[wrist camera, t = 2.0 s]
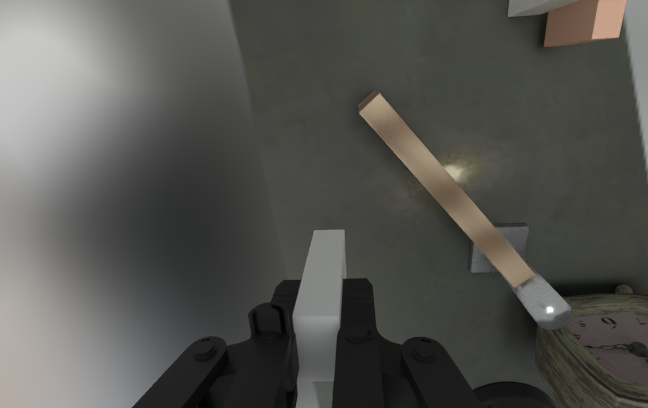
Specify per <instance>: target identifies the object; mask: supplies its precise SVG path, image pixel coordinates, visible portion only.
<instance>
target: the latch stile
mask: <svg viewBox="0 0 648 408" xmlns="http://www.w3.org/2000/svg"><path fill="white" fill-rule="evenodd" d="M625 5H626V0H509V8H508V17H517V16H530V15H540V14H543V13H546V12H549V13H548V20H547V27H546V34H545V41H544V47H551V46H565V45H572V44H578V43H585V42H592V41H598V40H605V39H611V38H618V37H619V34H620V29H621V24H622V19H623V15H624V10H625Z"/></svg>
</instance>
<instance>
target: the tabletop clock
mask: <svg viewBox="0 0 648 408" xmlns="http://www.w3.org/2000/svg"><path fill="white" fill-rule="evenodd" d="M615 292H616V293H613V294H585V295H575V296H566V297H562V298H563V299H564V300H565V302H566V303H567V304H568V305H569V306H570V307H571V309H572V312H573V315H572V318H571V320H570V321H569V323H568V324H566V325H565V326H563V327H561V328H559V329H555V330H548V329H544V328H542V327H540V326H539V325H537V336H536V346H535V362H536V365H537V368H538V371H539V374H540V376H541V377H542V379H543V381H544V383H545V385H546V387H547V389H548V391H549V393H550V395H551V396H552V398H553V400H554V401H555V402H556V404H557V405H558V407H559V408H648V295H646V294H635V293H633V291H632V289H631V288H630V287H629V286H627V285H619V286H617V287H616V289H615Z"/></svg>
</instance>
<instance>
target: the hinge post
mask: <svg viewBox="0 0 648 408" xmlns="http://www.w3.org/2000/svg"><path fill="white" fill-rule="evenodd" d="M492 225H493V226H494V227H495V228H496V230H497V231H498V232H499V233H500V234H501V235H502V237H503V238H504V239H505V240H506V241H507V242H508V244H509V245H510V246H511V247H512V248H513V249H514V251H515V252H516V253H517V254H518V255H519V256H520V258H521V259H522V260H523V261H524V262H525V263H526V265H527V266H528V267H529V268H530V269H531V270H532V272H533V273H534V274H535V275H534V276H532V277H531V278H529V279H527V280H526V281H524V282H523V283H521V284H519V285H518V286H516V287H515V288H514V287H513V286H512V285H511V284H510V283H509V281H508V280H507V279H506V278H505V277H504V276H503V275H502V274H501V272H500V271H499V270H498V269H497V268H496V267H495V266H494V264H493V263H492V262H491V261H490V260H489V259H488V258H487V257H486V255H485V254H484V253H483V252H482V251H481V250H480V249H479V248H478V246H477V245H476V244H475V243H474V242H473V241H472V240H471V246H470V257H469V267H468V269H469V270H470V272H471V273H484V272H499V273H500V274H501V276H502V277H503V278H504V280H505V281H506V282H507V284H508V285H509V286H510V288H511V289H512V290H513V292H514V293H515V294H516V296H517V297H518V298H519V300H520V301H521V302H522V304H523V305H524V306H525V308H526V309H527V310H528V312H529V313H530V314H531V316H532V317H533V318H534V320H535V321H536V323H537V324H538V325H539V326H540V327H542V328H544V329H548V330H555V329H559V328H561V327H563V326H565V325H566V324H568V323H569V321H570V320H571V318H572V315H573V312H572V309H571V307H570V306H569V305H568V304H567V303H566V302H565V300H564V299H563V298H562V297H561V296H560V295H559V294H558V293H557V292H556V291H555V290H554V289H553V288H552V287H551V286H550V285H549V284H548V282H547V281H546V280H545V279H544V278H543V277H542V276H541V275H540V274H539V273H538V272H537V271H536V270H535V269H534V268H533V267H532V266H531V264H530V263H529V262H528V261H527V260H526V259H525V258H524V257H525V251H526V244H527V238H528V231H529V226H528V225H527V224H525V223H518V224H492Z"/></svg>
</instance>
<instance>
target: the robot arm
mask: <svg viewBox="0 0 648 408" xmlns="http://www.w3.org/2000/svg"><path fill="white" fill-rule="evenodd" d="M346 278H347V277H346V255H345V233H344V230H314V233H313V237H312V241H311V245H310V249H309V253H308V257H307V261H306V265H305V269H304V272H303V276H302V280H283V281H282V282H281V283H280V284H279V285H278V286H277V287H276V289H275V292H274V295H273V298H272V300H271V302H269V303H263V304H261V305H258V306H256V307H255V308H253V309H252V310H251V311H250V313H249V314H248V317H249V322H250V329H251V338H250V339H248V340H246V341H244V342H241V343H237V344H233V345H228V346H227V345H226V342H225V341H224V340H223V339H222V338H219V337H212V336H210V337H205V338H202V339H200V340H197V341H195V342H194V343H193V344H191V345H190V346H189V347H188V348H187V349H186V350H185V351H184V352H183V353H182V354H181V355H180V356H179V357H178V359H177V360H176V361H175V362H174V363H173V364H172V365H171V366H170V367H169V368H168V369H167V370H166V371H165V373H164V374H163V375H162V376H161V377H160V378H159V379H158V380H157V382H155V383H154V384H153V386H152V387H151V388H150V389H149V390H148V391H147V392H146V393H145V394H144V395H143V396H142V397H141V398H140V400H139V401H138V402H137V403H136V404H135V405H134V406H133V407H132V408H295V407H296V401H297V395H298V394H297V383H296V382H297V377H298V371H299V379H300V381H319V382H334V387H333V401H332V408H556V406H555V404H554V403H553V401H552V400H551V399H550V398H549V397H548V396H547V395H546V394H545V393H543V392H542V391H540V390H538V389H536V388H534V387H531V386H528V385H524V384H519V383H497V384H492V385H488V386H484V387H481V388H479V389H477V390H475V391H473V390H472V389H471V387H470V386H469V384H468V383H467V381H466V380H465V378H464V377H463V375H462V374H461V372H460V371H459V369H458V368H457V366H456V365H455V363H454V362H453V360H452V359H451V357H450V356H449V354H448V353H447V351H446V350H445V348H444V347H443V346H442V345H441V344H440V343H438V342H437V341H435V340H433V339H430V338H426V337H414V338H411V339H408V340H407V341H406V342H404V343H403V345H400V344H396V343H393V342H390V341H388V340H386V339H385V338H383V337H382V336H381V335H380V334H379V332H378V331H377V328H376V320H375V308H374V297H373V286H372V284H371V283H370V282H369V281H368V279H367V278H363V279H346Z"/></svg>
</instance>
